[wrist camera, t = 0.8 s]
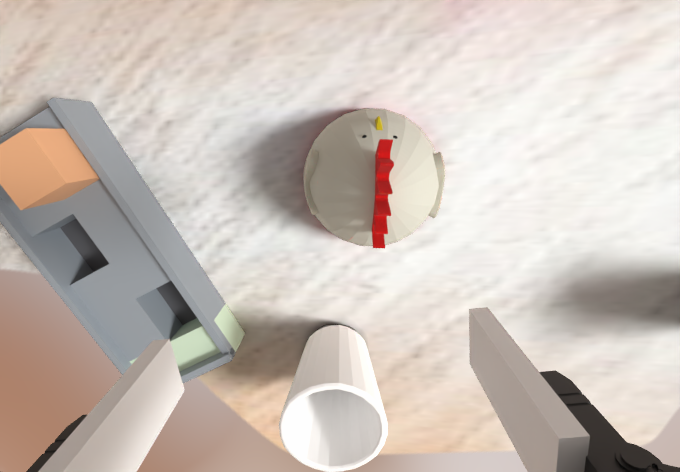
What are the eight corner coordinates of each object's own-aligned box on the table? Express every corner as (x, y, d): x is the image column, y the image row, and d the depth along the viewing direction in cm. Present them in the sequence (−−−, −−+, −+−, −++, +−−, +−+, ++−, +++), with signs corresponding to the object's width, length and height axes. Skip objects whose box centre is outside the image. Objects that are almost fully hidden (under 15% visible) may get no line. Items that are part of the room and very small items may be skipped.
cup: (357, 300, 43) (363, 368, 30) (388, 366, 45) (404, 453, 33) (282, 330, 44) (259, 407, 32) (316, 392, 46) (306, 485, 34)
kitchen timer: (440, 111, 37) (503, 97, 22) (428, 240, 41) (475, 299, 26) (305, 108, 37) (280, 92, 22) (305, 237, 41) (284, 294, 26)
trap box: (1, 158, 38) (-54, 162, 33) (91, 102, 37) (49, 97, 32) (163, 372, 46) (140, 403, 40) (245, 333, 44) (231, 360, 39)
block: (30, 154, 34) (-21, 157, 30) (71, 128, 34) (26, 128, 29) (64, 199, 36) (20, 210, 31) (104, 176, 35) (66, 183, 30)
